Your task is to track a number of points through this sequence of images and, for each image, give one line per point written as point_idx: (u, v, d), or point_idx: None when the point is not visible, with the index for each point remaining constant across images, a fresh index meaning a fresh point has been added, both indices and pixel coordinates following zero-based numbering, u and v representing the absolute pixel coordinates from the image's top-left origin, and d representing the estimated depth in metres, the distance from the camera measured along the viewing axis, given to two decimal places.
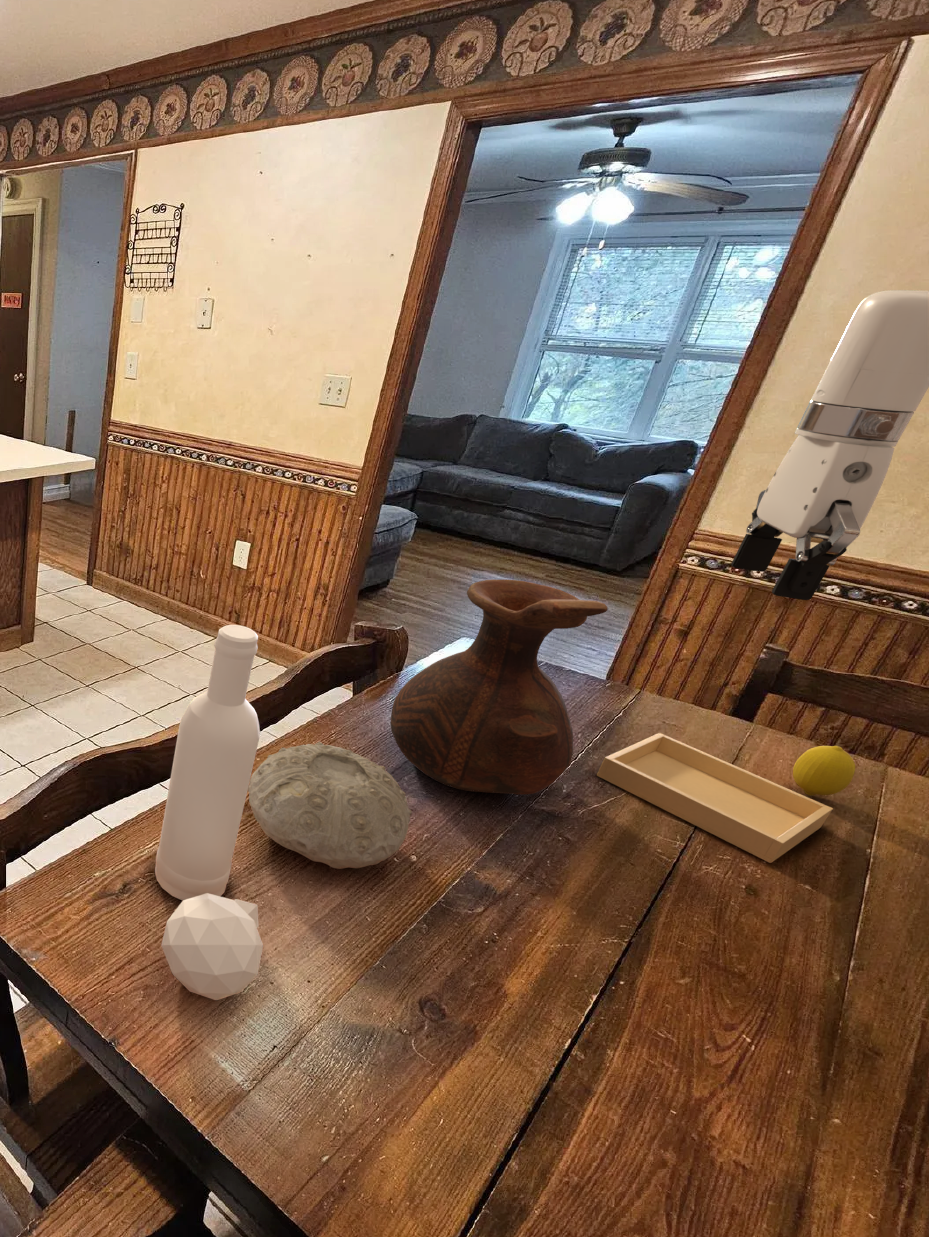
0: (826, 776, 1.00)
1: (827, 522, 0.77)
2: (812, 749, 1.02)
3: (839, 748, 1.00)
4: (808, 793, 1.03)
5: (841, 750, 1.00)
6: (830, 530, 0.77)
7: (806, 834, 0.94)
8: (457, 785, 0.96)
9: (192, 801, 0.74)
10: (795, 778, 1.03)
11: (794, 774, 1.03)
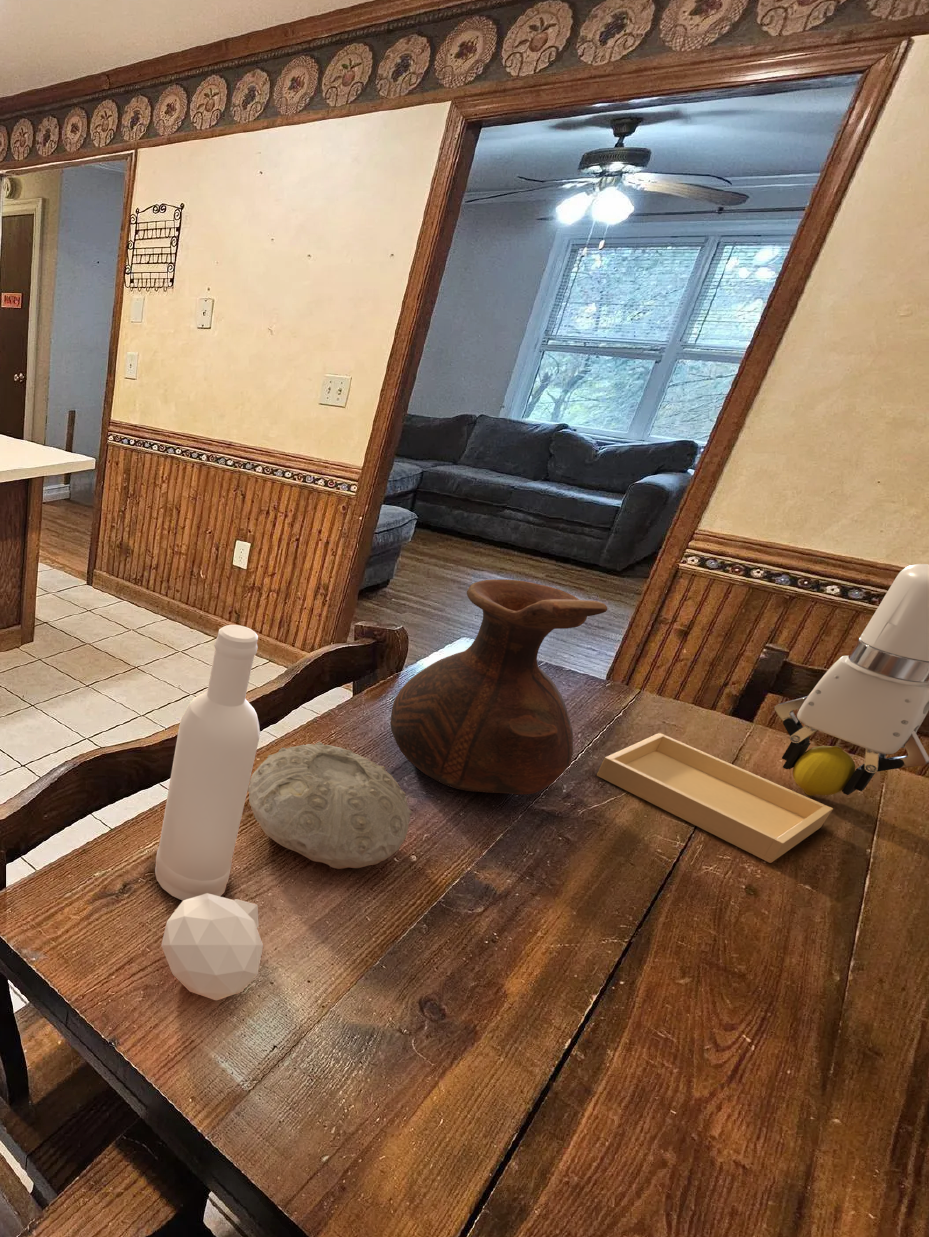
0: (826, 776, 1.00)
1: None
2: (812, 749, 1.02)
3: (839, 748, 1.00)
4: (808, 793, 1.03)
5: (841, 750, 1.00)
6: None
7: (806, 834, 0.94)
8: (457, 785, 0.96)
9: (192, 801, 0.74)
10: (795, 778, 1.03)
11: (794, 774, 1.03)
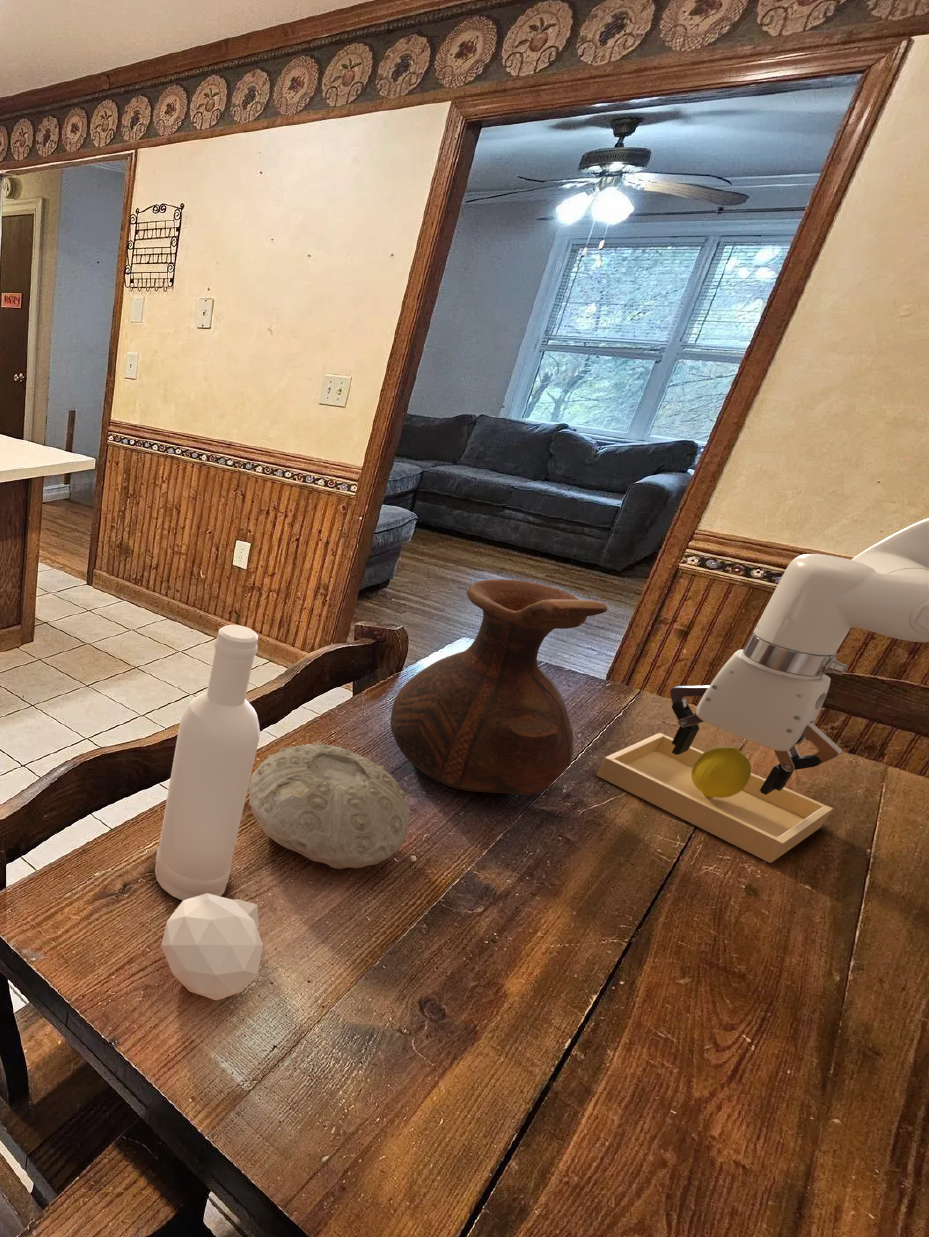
0: (722, 778, 0.97)
1: None
2: (709, 750, 0.99)
3: (735, 749, 0.97)
4: (706, 795, 1.00)
5: (737, 751, 0.97)
6: None
7: (806, 834, 0.94)
8: (457, 785, 0.96)
9: (192, 801, 0.74)
10: (693, 780, 1.00)
11: (692, 776, 1.00)
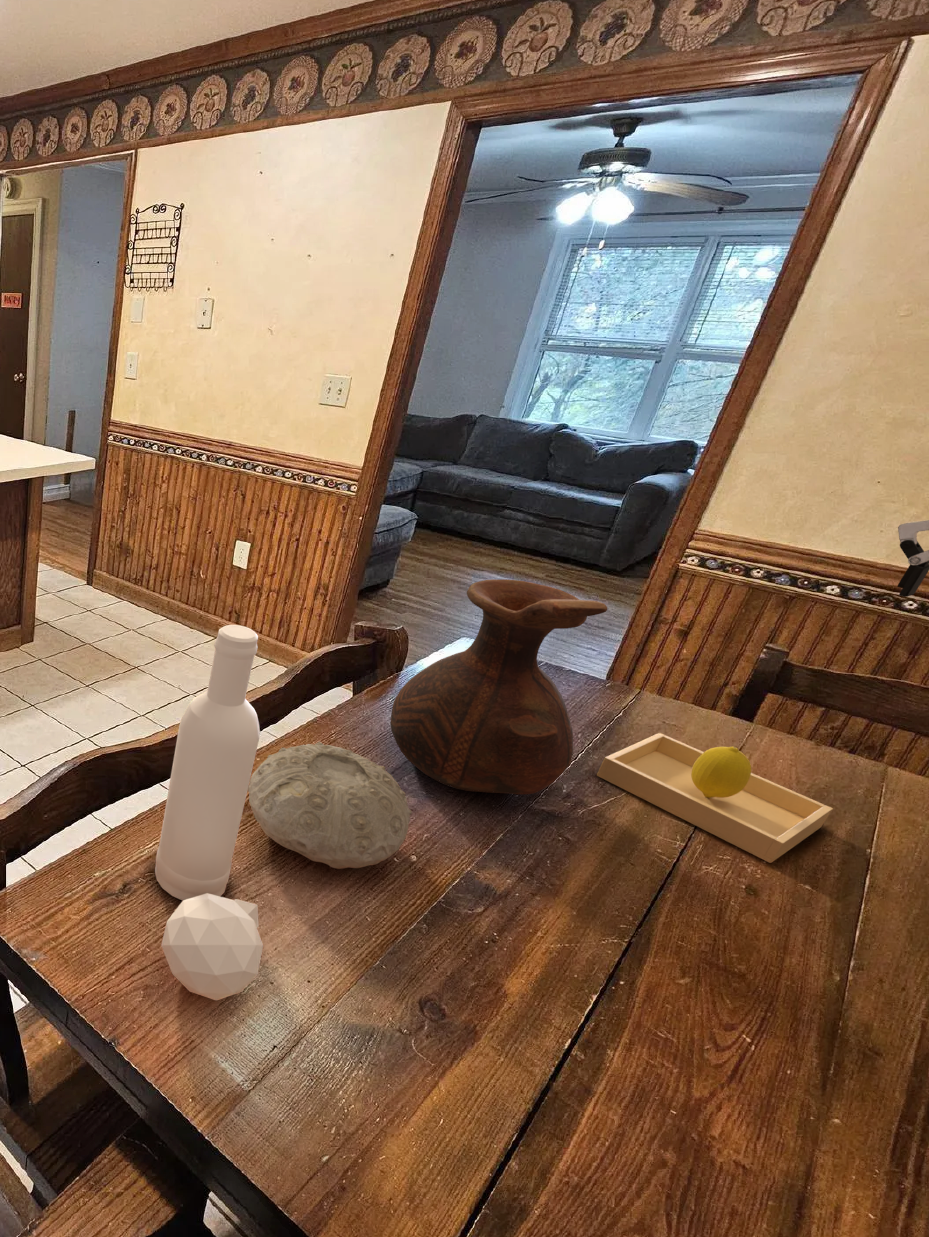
0: (722, 778, 0.97)
1: None
2: (709, 750, 0.99)
3: (735, 749, 0.97)
4: (706, 795, 1.00)
5: (737, 751, 0.97)
6: None
7: (806, 834, 0.94)
8: (457, 785, 0.96)
9: (192, 801, 0.74)
10: (693, 780, 1.00)
11: (692, 776, 1.00)
